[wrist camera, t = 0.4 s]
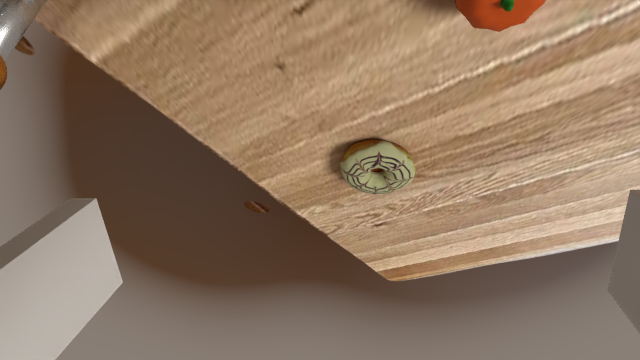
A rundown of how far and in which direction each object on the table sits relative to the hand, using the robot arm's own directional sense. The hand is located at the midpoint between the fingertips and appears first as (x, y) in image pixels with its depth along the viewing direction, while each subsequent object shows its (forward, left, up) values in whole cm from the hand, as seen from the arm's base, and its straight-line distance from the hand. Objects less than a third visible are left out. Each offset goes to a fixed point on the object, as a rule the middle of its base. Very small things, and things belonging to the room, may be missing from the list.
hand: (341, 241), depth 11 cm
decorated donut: (+36, -20, -35) cm, 54 cm away
